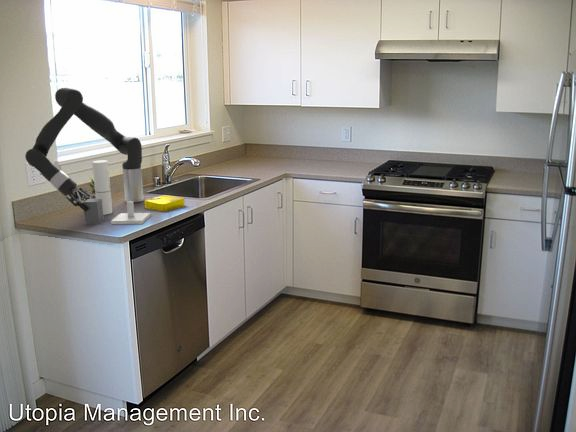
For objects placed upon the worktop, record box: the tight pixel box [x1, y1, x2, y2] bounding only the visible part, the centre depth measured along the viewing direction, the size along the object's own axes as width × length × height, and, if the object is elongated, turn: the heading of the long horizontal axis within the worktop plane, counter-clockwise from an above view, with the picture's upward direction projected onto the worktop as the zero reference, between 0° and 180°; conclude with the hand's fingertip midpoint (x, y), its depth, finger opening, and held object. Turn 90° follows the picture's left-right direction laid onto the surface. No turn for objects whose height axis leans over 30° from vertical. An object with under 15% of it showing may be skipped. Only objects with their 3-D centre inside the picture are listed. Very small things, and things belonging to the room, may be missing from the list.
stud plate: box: [110, 201, 151, 225], centre depth 272 cm, size 14×14×8 cm
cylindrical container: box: [91, 159, 113, 216], centre depth 285 cm, size 7×7×25 cm
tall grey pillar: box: [82, 198, 105, 225], centre depth 270 cm, size 6×6×10 cm
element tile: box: [144, 194, 185, 212], centre depth 297 cm, size 15×15×5 cm
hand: (91, 208), depth 270 cm, fingers open, 8 cm apart
